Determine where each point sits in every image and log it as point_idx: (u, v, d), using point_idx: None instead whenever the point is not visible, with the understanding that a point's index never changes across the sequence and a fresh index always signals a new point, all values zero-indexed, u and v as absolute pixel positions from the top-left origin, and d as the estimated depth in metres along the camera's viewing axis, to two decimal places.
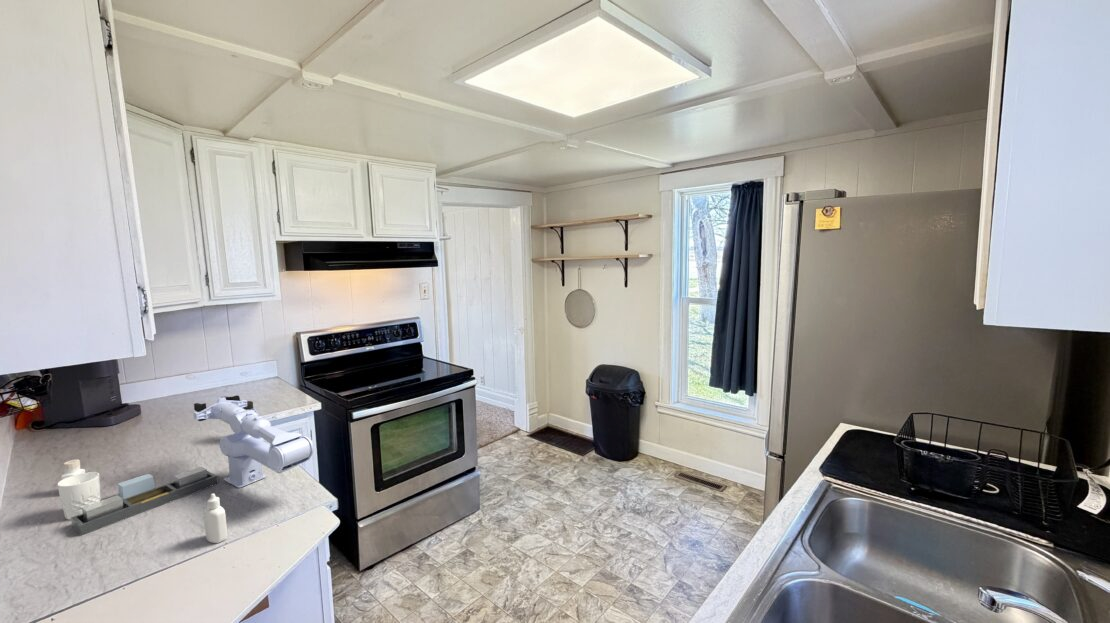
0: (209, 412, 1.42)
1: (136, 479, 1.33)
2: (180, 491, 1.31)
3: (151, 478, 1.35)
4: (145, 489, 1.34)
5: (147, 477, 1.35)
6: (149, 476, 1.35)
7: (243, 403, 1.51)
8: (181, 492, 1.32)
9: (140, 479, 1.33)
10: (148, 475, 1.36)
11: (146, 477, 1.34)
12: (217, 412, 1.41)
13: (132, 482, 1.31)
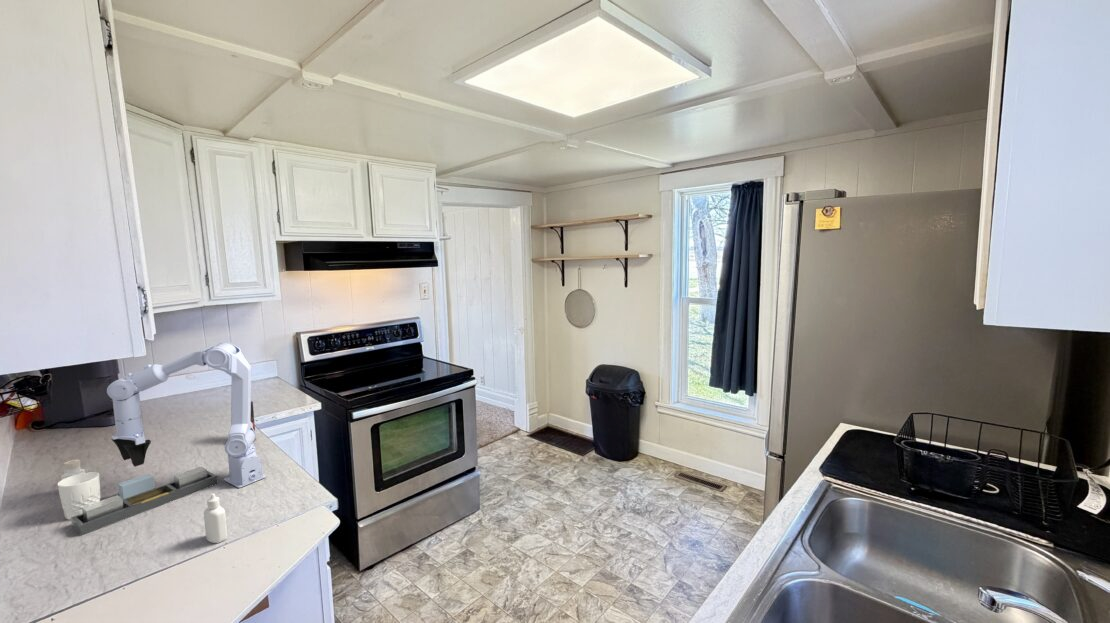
0: (134, 435, 1.29)
1: (136, 479, 1.33)
2: (180, 491, 1.31)
3: (151, 478, 1.35)
4: (145, 489, 1.34)
5: (147, 477, 1.35)
6: (149, 476, 1.35)
7: None
8: (181, 492, 1.32)
9: (140, 479, 1.33)
10: (148, 475, 1.36)
11: (146, 477, 1.34)
12: (129, 425, 1.29)
13: (132, 482, 1.31)
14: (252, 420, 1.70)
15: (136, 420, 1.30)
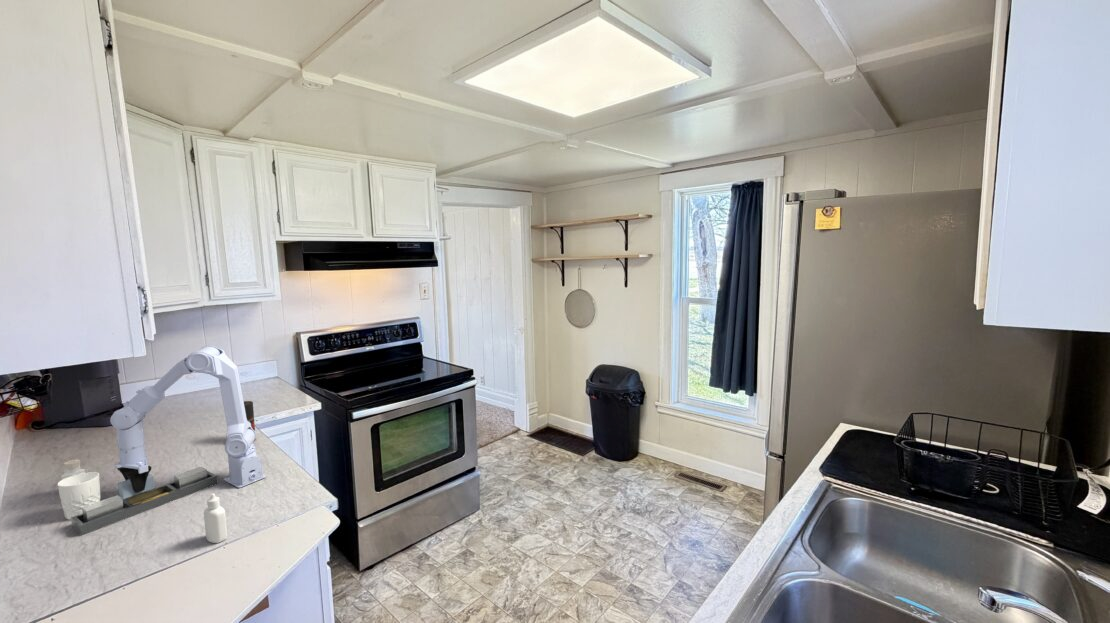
0: (137, 464, 1.30)
1: None
2: (180, 491, 1.31)
3: (151, 478, 1.35)
4: (145, 489, 1.34)
5: (147, 477, 1.34)
6: (149, 476, 1.35)
7: None
8: (181, 492, 1.32)
9: None
10: (148, 475, 1.36)
11: None
12: (132, 453, 1.30)
13: None
14: (252, 420, 1.70)
15: (139, 448, 1.31)
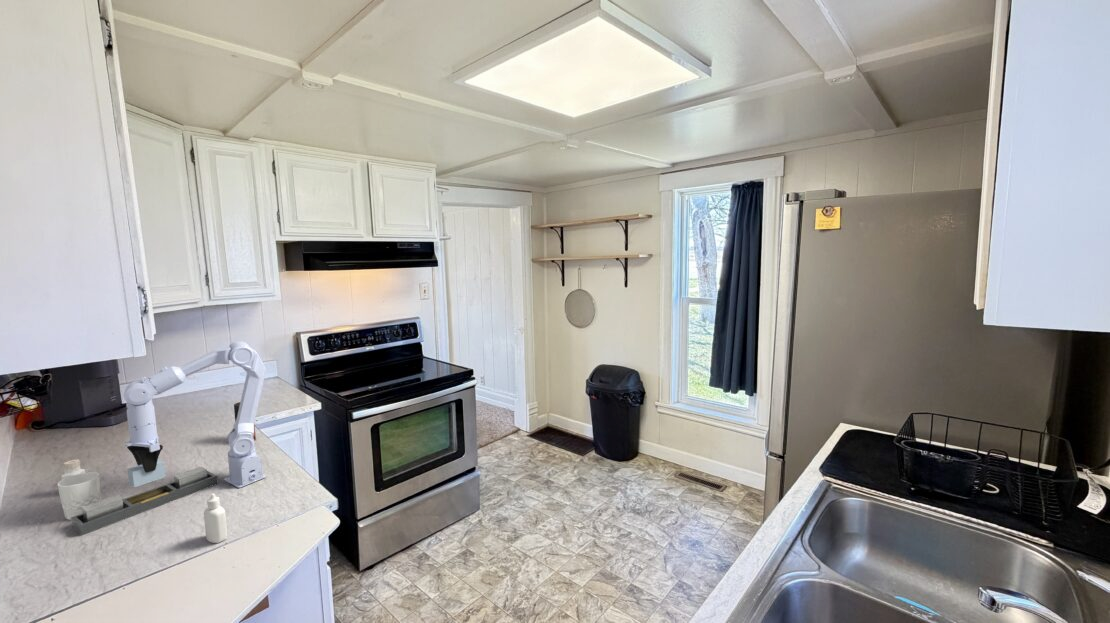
0: (148, 442, 1.24)
1: None
2: (180, 491, 1.31)
3: (162, 464, 1.29)
4: (156, 475, 1.28)
5: (158, 462, 1.28)
6: (160, 461, 1.29)
7: None
8: (181, 492, 1.32)
9: None
10: (159, 461, 1.30)
11: (157, 462, 1.28)
12: (143, 431, 1.24)
13: (143, 468, 1.25)
14: None
15: (150, 426, 1.25)
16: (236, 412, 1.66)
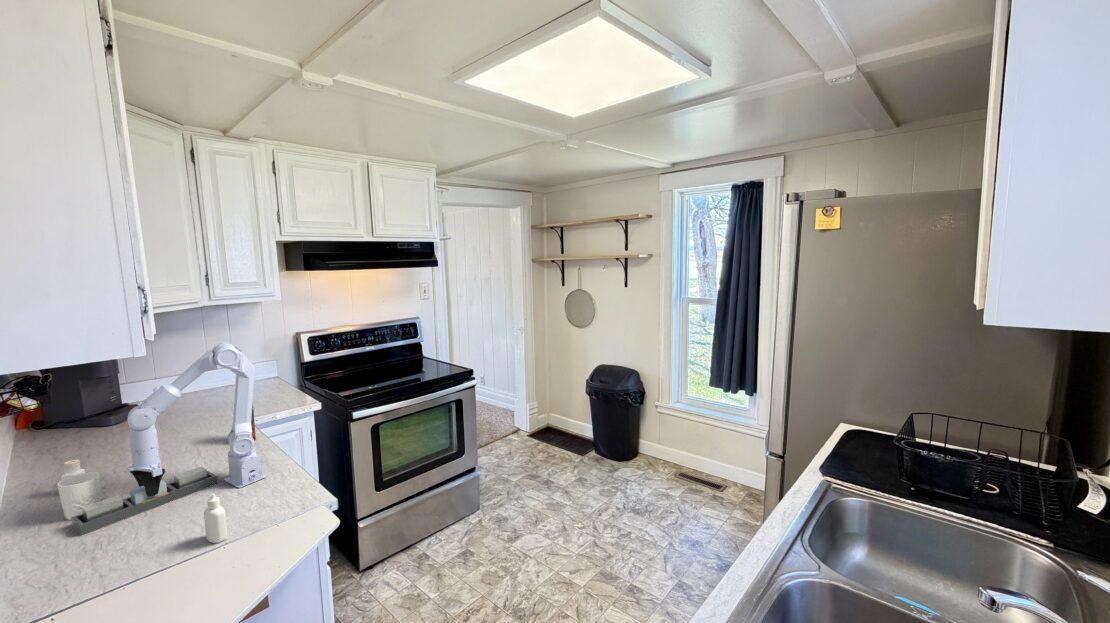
0: (151, 466, 1.25)
1: None
2: (180, 491, 1.31)
3: (164, 485, 1.29)
4: None
5: (160, 484, 1.29)
6: (162, 482, 1.30)
7: None
8: (181, 492, 1.32)
9: None
10: (161, 481, 1.30)
11: None
12: (146, 456, 1.25)
13: None
14: (252, 420, 1.70)
15: (153, 450, 1.26)
16: None
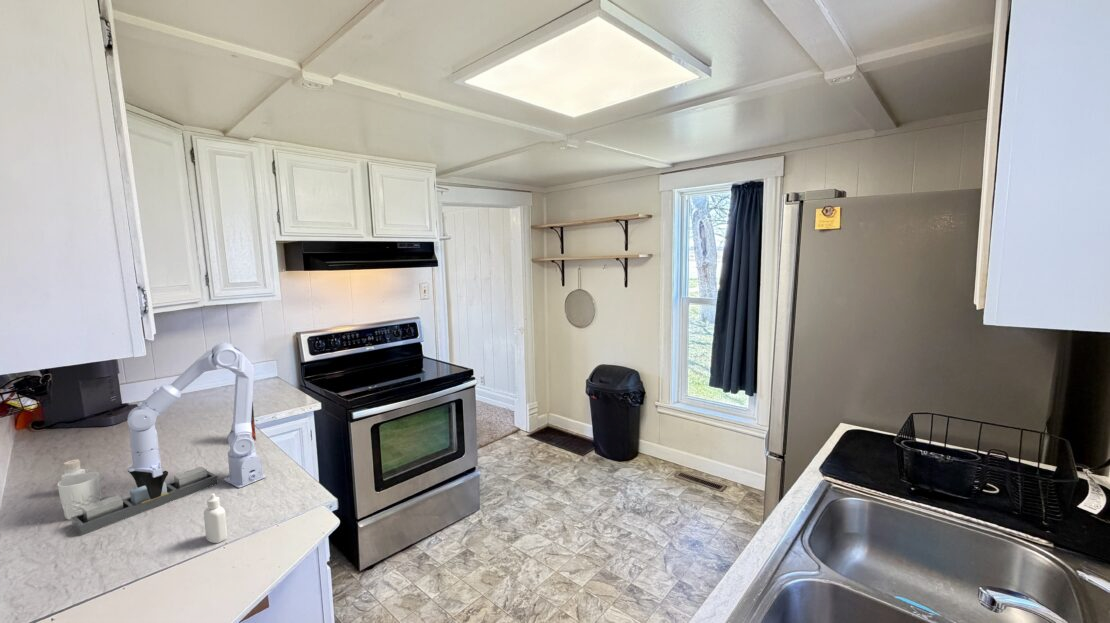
0: (151, 467, 1.25)
1: None
2: (180, 491, 1.31)
3: (164, 485, 1.29)
4: None
5: None
6: None
7: None
8: (181, 492, 1.32)
9: None
10: None
11: None
12: (146, 456, 1.25)
13: (145, 489, 1.26)
14: (252, 420, 1.70)
15: (153, 451, 1.26)
16: None
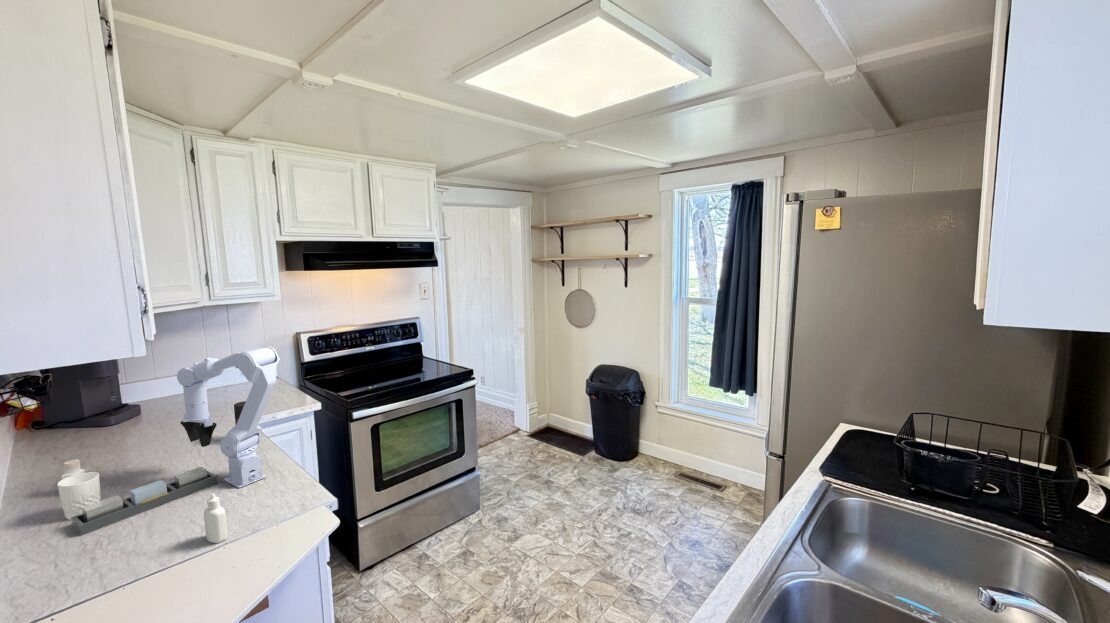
0: (202, 419, 1.42)
1: (148, 486, 1.28)
2: (180, 491, 1.31)
3: (164, 485, 1.29)
4: None
5: (160, 484, 1.29)
6: (162, 482, 1.30)
7: None
8: (181, 492, 1.32)
9: (153, 486, 1.28)
10: (161, 481, 1.30)
11: (159, 484, 1.29)
12: (198, 409, 1.41)
13: (145, 489, 1.26)
14: None
15: (203, 405, 1.43)
16: (236, 412, 1.66)
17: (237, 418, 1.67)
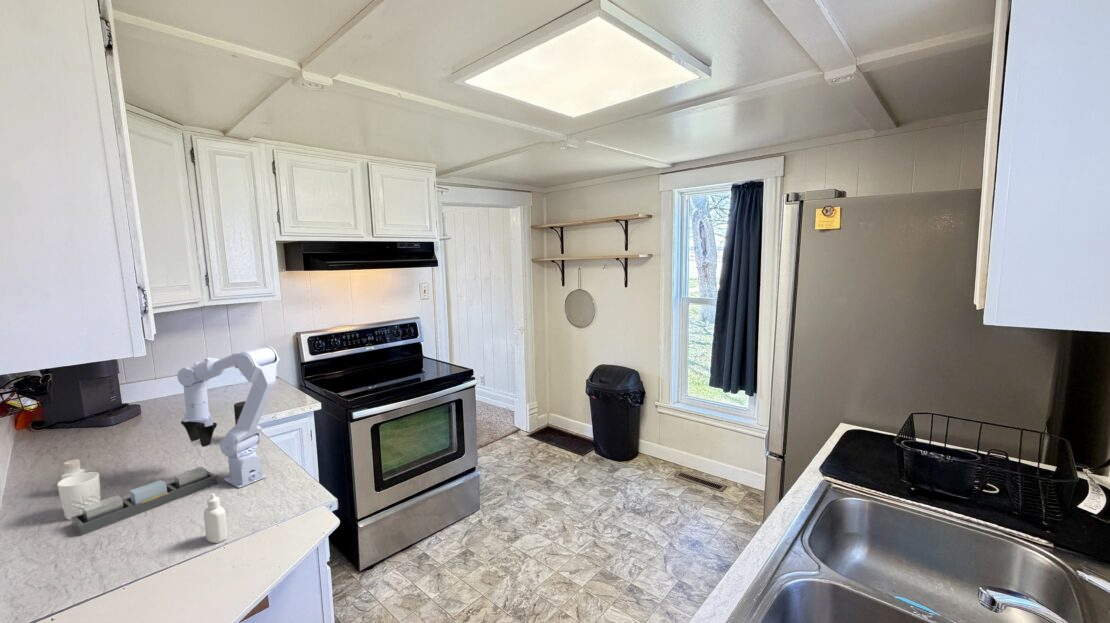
0: (202, 418, 1.42)
1: (148, 486, 1.28)
2: (180, 491, 1.31)
3: (164, 485, 1.29)
4: None
5: (160, 484, 1.29)
6: (162, 482, 1.30)
7: None
8: (181, 492, 1.32)
9: (153, 486, 1.28)
10: (161, 481, 1.30)
11: (159, 484, 1.29)
12: (198, 409, 1.41)
13: (145, 489, 1.26)
14: None
15: (204, 404, 1.43)
16: (236, 412, 1.66)
17: (237, 418, 1.67)
